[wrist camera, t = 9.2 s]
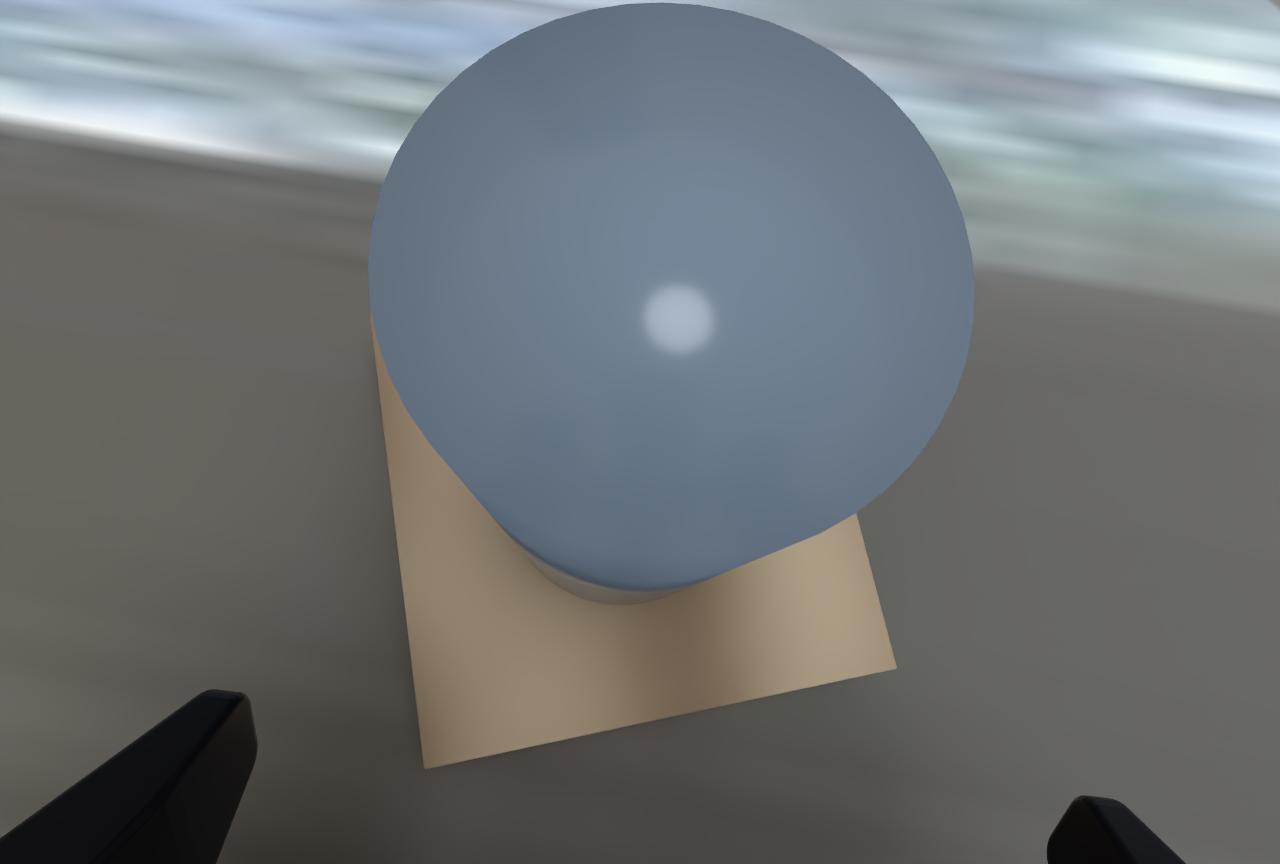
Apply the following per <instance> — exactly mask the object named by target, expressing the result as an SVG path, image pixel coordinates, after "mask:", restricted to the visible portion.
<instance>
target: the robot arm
mask: <svg viewBox="0 0 1280 864" xmlns="http://www.w3.org/2000/svg"><path fill="white" fill-rule="evenodd" d="M257 746H258V745H257V737H256V731H255V725H254V719H253V714H252V708H251V703H250V699H249V698H248V696H247V695H246V694H244V693H241V692H233V691H225V690H216V689H214V690H207V691H205V692H202V693H201V694H199V695H197V696H196V697H195V698H193V699H192V700H190V701H189V702H188V703H186V704H185V705H184V706H182V707H181V708H179V709H178V710H177V711H175V712H174V713H173V714H171V715H170V716H168V717H167V718H166V719H164V720H163V721H161V722H160V723H159V724H157V725H156V726H155V727H153V728H152V729H150V730H149V731H148V732H146V733H145V734H144V735H142V736H141V737H139V738H138V739H137V740H135V741H134V742H133V743H131V744H130V745H128V746H127V747H126V748H124V749H123V750H121V751H120V752H119V753H117V754H116V755H115V756H113V757H112V758H110V759H109V760H108V761H106V762H105V763H104V764H102V765H101V766H99V767H98V768H97V769H95V770H94V771H93V772H91V773H90V774H88V775H87V776H86V777H84V778H83V779H81V780H80V781H79V782H77V783H76V784H75V785H73V786H72V787H70V788H69V789H68V790H66V791H65V792H64V793H62V794H61V795H59V796H58V797H57V798H55V799H54V800H53V801H51V802H50V803H48V804H47V805H46V806H44V807H43V808H41V809H40V810H39V811H37V812H36V813H35V814H33V815H32V816H30V817H29V818H28V819H26V820H25V821H24V822H22V823H21V824H19V825H18V826H17V827H15V828H14V829H13V830H11V831H10V832H8V833H7V834H6V835H4V836H3V837H1V838H0V864H216V862H217V859H218V857H219V854H220V852H221V849H222V846H223V844H224V841H225V839H226V836H227V834H228V831H229V828H230V826H231V823H232V821H233V818H234V816H235V813H236V810H237V808H238V805H239V803H240V800H241V798H242V795H243V792H244V790H245V787H246V785H247V782H248V780H249V777H250V774H251V772H252V769H253V766H254V763H255V760H256V755H257ZM1047 860H1048V864H1186V863H1185V862H1184V861H1183V860H1182V859H1181V858H1180V857H1179V856H1178V855H1176V854H1175V853H1174V852H1173V851H1172V850H1171V849H1170V848H1169V847H1168V846H1167V845H1166V844H1165V843H1164V842H1163V841H1162V840H1161V839H1160V838H1159V837H1158V836H1157V835H1156V834H1155V833H1153V832H1152V831H1151V830H1150V829H1149V828H1148V827H1147V826H1146V825H1145V824H1144V823H1143V822H1142V821H1141V820H1140V819H1139V818H1138V817H1137V816H1136V815H1135V814H1134V813H1133V812H1132V811H1131V810H1129V809H1128V808H1127V807H1126V806H1125V805H1124V804H1122V803H1120V802H1119V801H1117V800H1114V799H1110V798H1102V797H1094V796H1079V797H1077V798H1075V799H1074V800H1073V802H1072V803H1071V804H1070V806H1069V808H1068V809H1067V811H1066V812H1065V814H1064V815H1063V817H1062V818H1061V820H1060V822H1059V823H1058V825H1057V826H1056V828H1055V829H1054V831H1053V833H1052V834H1051V836H1050V838H1049V841H1048V845H1047Z"/></svg>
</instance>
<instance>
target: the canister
mask: <svg viewBox="0 0 1280 864" xmlns="http://www.w3.org/2000/svg"><path fill="white" fill-rule="evenodd" d="M368 278H369V301H370V306H371V312H372V317H373V323H374V328H375V334H376V338H377V341H378V344H379V347H380V350H381V353H382V356H383V359H384V362H385V365H386V368H387V371H388V374H389V376H390V378H391V380H392V382H393V384H394V386H395V388H396V390H397V392H398V394H399V396H400V398H401V400H402V402H403V404H404V406H405V408H406V410H407V412H408V413H409V415H410V416H411V418H412V419H413V420H414V422H415V423H416V425H417V426H418V428H419V429H420V431H421V432H422V433H423V435H424V436H425V438H426V439H427V441H428V442H429V443H430V445H431V446H432V447H433V448H434V450H435V451H436V452H437V453H438V454H439V455H440V457H441V458H442V459H443V460H444V461H445V462H446V464H447V465H448V466H449V467H450V468H451V469H452V471H453V472H454V473H455V474H456V475H457V476H458V478H459V479H460V480H461V481H462V482H463V483H464V485H465V486H466V487H467V488H468V489H469V490H470V492H471V493H472V494H473V495H474V496H475V497H476V499H477V500H478V501H479V502H480V503H481V504H482V506H483V507H484V508H485V509H486V510H487V511H488V513H489V514H490V515H491V516H492V517H493V518H494V520H495V521H496V522H497V523H498V524H499V525H500V527H501V528H502V529H503V530H504V531H505V532H506V534H507V535H508V536H509V537H510V538H511V539H512V541H513V542H514V543H515V544H516V545H517V546H518V548H519V549H520V550H521V551H522V552H523V553H524V555H525V556H526V557H527V558H528V559H529V560H530V562H531V563H532V564H533V565H534V566H535V567H536V568H537V569H538V570H539V571H540V572H541V573H542V574H543V575H544V576H545V577H547V578H548V579H549V580H550V581H551V582H553V583H554V584H556V585H557V586H559V587H561V588H562V589H564V590H565V591H567V592H569V593H572V594H574V595H576V596H578V597H581V598H584V599H587V600H590V601H594V602H598V603H604V604H611V605H633V604H642V603H647V602H651V601H655V600H659V599H661V598H664V597H666V596H669V595H671V594H674V593H676V592H679V591H681V590H684V589H686V588H689V587H691V586H693V585H696V584H698V583H701V582H703V581H706V580H708V579H710V578H713V577H715V576H718V575H720V574H723V573H725V572H728V571H730V570H732V569H735V568H737V567H740V566H742V565H745V564H747V563H750V562H752V561H754V560H757V559H759V558H762V557H764V556H767V555H769V554H771V553H774V552H776V551H779V550H781V549H784V548H786V547H789V546H791V545H793V544H796V543H798V542H801V541H803V540H806V539H808V538H810V537H813V536H815V535H818V534H820V533H822V532H824V531H826V530H827V529H829V528H831V527H833V526H834V525H836V524H838V523H840V522H841V521H843V520H845V519H847V518H848V517H850V516H852V515H854V514H855V513H857V512H858V511H859V510H861V509H862V508H863V507H865V506H866V505H867V504H868V503H870V502H871V501H872V500H874V499H875V498H876V497H877V496H879V495H880V494H881V493H883V492H884V491H885V490H886V489H888V488H889V487H890V486H891V485H892V483H893V482H894V481H895V480H896V479H897V478H898V477H899V476H900V475H901V474H902V473H903V472H904V471H905V470H906V469H907V468H908V467H909V466H910V465H911V464H912V463H913V462H914V461H915V459H916V458H917V457H918V455H919V454H920V452H921V451H922V450H923V448H924V447H925V445H926V444H927V443H928V441H929V440H930V438H931V437H932V436H933V434H934V433H935V431H936V430H937V428H938V426H939V425H940V423H941V421H942V419H943V417H944V415H945V413H946V411H947V409H948V407H949V405H950V403H951V401H952V399H953V397H954V395H955V392H956V389H957V387H958V384H959V381H960V378H961V375H962V372H963V369H964V366H965V363H966V360H967V355H968V350H969V344H970V339H971V334H972V329H973V318H974V296H975V285H974V275H973V264H972V253H971V249H970V244H969V240H968V236H967V231H966V227H965V223H964V219H963V216H962V213H961V210H960V208H959V205H958V202H957V200H956V197H955V194H954V192H953V189H952V186H951V184H950V182H949V180H948V178H947V177H946V175H945V173H944V171H943V169H942V167H941V165H940V163H939V161H938V159H937V158H936V156H935V154H934V152H933V151H932V149H931V148H930V147H929V145H928V144H927V142H926V141H925V139H924V138H923V136H922V135H921V134H920V132H919V131H918V129H917V128H916V126H915V125H914V124H913V123H912V121H911V120H910V119H909V118H908V117H907V116H906V115H905V114H904V112H903V111H902V110H901V109H900V108H899V107H898V106H897V105H896V103H895V102H894V101H893V100H892V99H891V98H890V97H889V96H888V95H887V94H886V93H885V92H884V91H882V90H881V89H880V88H879V87H878V86H877V85H876V84H875V83H873V82H872V81H871V80H870V79H869V78H868V77H867V76H866V75H864V74H863V73H862V72H860V71H859V70H858V69H856V68H855V67H853V66H852V65H851V64H849V63H848V62H846V61H845V60H843V59H842V58H841V57H839V56H838V55H836V54H835V53H833V52H832V51H830V50H828V49H826V48H824V47H822V46H821V45H819V44H817V43H815V42H813V41H812V40H810V39H808V38H806V37H804V36H802V35H800V34H798V33H795V32H793V31H790V30H788V29H786V28H783V27H781V26H778V25H776V24H774V23H771V22H769V21H765V20H762V19H758V18H755V17H752V16H748V15H745V14H741V13H738V12H734V11H729V10H723V9H718V8H712V7H706V6H701V5H690V4H675V3H644V4H625V5H618V6H612V7H606V8H599V9H593V10H588V11H585V12H581V13H578V14H574V15H570V16H567V17H563V18H560V19H556V20H553V21H551V22H549V23H546V24H544V25H541V26H539V27H536V28H534V29H532V30H529V31H527V32H524V33H522V34H520V35H518V36H517V37H515V38H513V39H511V40H509V41H508V42H506V43H504V44H502V45H500V46H499V47H497V48H495V49H493V50H492V51H490V52H489V53H487V54H486V55H485V56H483V57H482V58H481V59H479V60H478V61H476V62H475V63H474V64H472V65H471V66H470V67H468V68H467V69H466V70H464V71H463V72H462V73H461V74H460V75H459V76H458V77H456V78H455V79H454V80H453V81H452V82H451V83H450V84H449V85H448V86H447V87H446V88H445V89H444V90H443V91H442V92H441V93H440V94H439V95H438V96H437V97H436V98H435V99H434V100H433V102H432V103H431V104H430V105H429V107H428V108H427V109H426V110H425V112H424V113H423V114H422V115H421V117H420V118H419V119H418V120H417V122H416V123H415V124H414V126H413V127H412V129H411V131H410V132H409V134H408V136H407V137H406V139H405V141H404V142H403V144H402V146H401V147H400V149H399V151H398V152H397V154H396V156H395V158H394V160H393V163H392V165H391V167H390V170H389V172H388V175H387V177H386V179H385V182H384V184H383V186H382V189H381V193H380V196H379V200H378V204H377V208H376V212H375V215H374V219H373V223H372V230H371V239H370V248H369V257H368Z"/></svg>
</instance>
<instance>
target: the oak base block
mask: <svg viewBox="0 0 1280 864" xmlns="http://www.w3.org/2000/svg"><path fill="white" fill-rule="evenodd" d="M370 318H371V327H372V335H373V344H374V352H375V360H376V369H377V377H378V385H379V394H380V402H381V411H382V419H383V427H384V436H385V444H386V453H387V461H388V469H389V478H390V486H391V495H392V503H393V511H394V520H395V528H396V537H397V545H398V553H399V562H400V570H401V579H402V587H403V595H404V604H405V612H406V620H407V629H408V637H409V646H410V654H411V662H412V671H413V679H414V688H415V696H416V704H417V713H418V721H419V730H420V738H421V746H422V755H423V763H424V769H429V768H434V767H438V766H443V765H448V764H452V763H457V762H462V761H466V760H471V759H476V758H480V757H485V756H490V755H494V754H499V753H504V752H508V751H513V750H518V749H523V748H527V747H532V746H537V745H541V744H546V743H551V742H555V741H560V740H565V739H569V738H574V737H579V736H583V735H588V734H593V733H597V732H602V731H607V730H611V729H616V728H621V727H626V726H630V725H635V724H640V723H644V722H649V721H654V720H658V719H663V718H668V717H672V716H677V715H682V714H686V713H691V712H696V711H700V710H705V709H710V708H714V707H719V706H724V705H728V704H733V703H738V702H743V701H747V700H752V699H757V698H761V697H766V696H771V695H775V694H780V693H785V692H789V691H794V690H799V689H803V688H808V687H813V686H817V685H822V684H827V683H831V682H836V681H841V680H846V679H850V678H855V677H860V676H864V675H869V674H874V673H878V672H883V671H888V670H892V669H897V667H896V663H895V659H894V655H893V652H892V648H891V644H890V640H889V636H888V633H887V629H886V625H885V621H884V617H883V614H882V610H881V606H880V602H879V598H878V594H877V591H876V587H875V583H874V579H873V575H872V572H871V568H870V564H869V560H868V556H867V552H866V549H865V545H864V541H863V537H862V533H861V530H860V526H859V522H858V518H857V514H856V513H855V514H854V515H852V516H850V517H848V518H847V519H845V520H843V521H841V522H840V523H838V524H836V525H834V526H833V527H831V528H829V529H827V530H826V531H824V532H822V533H820V534H818V535H815V536H813V537H810V538H808V539H806V540H803V541H801V542H798V543H796V544H793V545H791V546H789V547H786V548H784V549H781V550H779V551H776V552H774V553H771V554H769V555H767V556H764V557H762V558H759V559H757V560H754V561H752V562H750V563H747V564H745V565H742V566H740V567H737V568H735V569H732V570H730V571H728V572H725V573H723V574H720V575H718V576H715V577H713V578H710V579H708V580H706V581H703V582H701V583H698V584H696V585H693V586H691V587H689V588H686V589H684V590H681V591H679V592H676V593H674V594H671V595H669V596H666V597H664V598H661V599H659V600H655V601H651V602H647V603H642V604H633V605H611V604H604V603H598V602H594V601H590V600H587V599H584V598H581V597H578V596H576V595H574V594H572V593H569V592H567V591H565V590H564V589H562V588H561V587H559V586H557V585H556V584H554V583H553V582H551V581H550V580H549V579H548V578H547V577H545V576H544V575H543V574H542V573H541V572H540V571H539V570H538V569H537V568H536V567H535V566H534V565H533V564H532V563H531V562H530V560H529V559H528V558H527V557H526V556H525V555H524V553H523V552H522V551H521V550H520V549H519V548H518V546H517V545H516V544H515V543H514V542H513V541H512V539H511V538H510V537H509V536H508V535H507V534H506V532H505V531H504V530H503V529H502V528H501V527H500V525H499V524H498V523H497V522H496V521H495V520H494V518H493V517H492V516H491V515H490V514H489V513H488V511H487V510H486V509H485V508H484V507H483V506H482V504H481V503H480V502H479V501H478V500H477V499H476V497H475V496H474V495H473V494H472V493H471V492H470V490H469V489H468V488H467V487H466V486H465V485H464V483H463V482H462V481H461V480H460V479H459V478H458V476H457V475H456V474H455V473H454V472H453V471H452V469H451V468H450V467H449V466H448V465H447V464H446V462H445V461H444V460H443V459H442V458H441V457H440V455H439V454H438V453H437V452H436V451H435V450H434V448H433V447H432V446H431V445H430V443H429V442H428V441H427V439H426V438H425V436H424V435H423V433H422V432H421V431H420V429H419V428H418V426H417V425H416V423H415V422H414V420H413V419H412V418H411V416H410V415H409V413H408V412H407V410H406V408H405V406H404V404H403V402H402V400H401V398H400V396H399V394H398V392H397V390H396V388H395V386H394V384H393V382H392V380H391V378H390V376H389V374H388V371H387V368H386V365H385V362H384V359H383V356H382V353H381V350H380V347H379V344H378V341H377V338H376V334H375V328H374V323H373V317H372V312H371V311H370Z"/></svg>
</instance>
